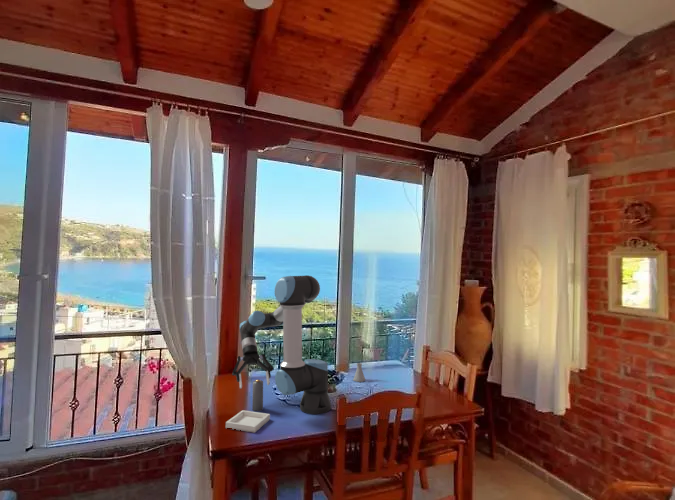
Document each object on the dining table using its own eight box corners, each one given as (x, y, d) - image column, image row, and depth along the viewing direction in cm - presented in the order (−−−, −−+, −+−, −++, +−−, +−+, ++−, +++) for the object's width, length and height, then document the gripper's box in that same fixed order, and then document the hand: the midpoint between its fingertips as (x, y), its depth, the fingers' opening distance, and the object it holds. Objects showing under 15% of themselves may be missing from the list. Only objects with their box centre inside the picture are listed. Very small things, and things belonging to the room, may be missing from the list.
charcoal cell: (264, 407, 196) (265, 379, 196) (259, 411, 191) (260, 382, 191) (255, 406, 197) (255, 378, 198) (250, 410, 193) (250, 381, 193)
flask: (361, 383, 234) (361, 366, 234) (350, 381, 238) (351, 364, 238) (367, 379, 240) (367, 363, 240) (356, 377, 244) (357, 361, 244)
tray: (269, 419, 183) (269, 414, 183) (254, 432, 169) (254, 426, 169) (242, 415, 187) (242, 410, 187) (225, 428, 173) (225, 422, 173)
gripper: (271, 349, 219) (278, 386, 205) (224, 354, 210) (228, 392, 196) (274, 342, 214) (281, 378, 201) (226, 346, 205) (229, 384, 191)
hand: (255, 385), depth 198 cm, fingers open, 13 cm apart
